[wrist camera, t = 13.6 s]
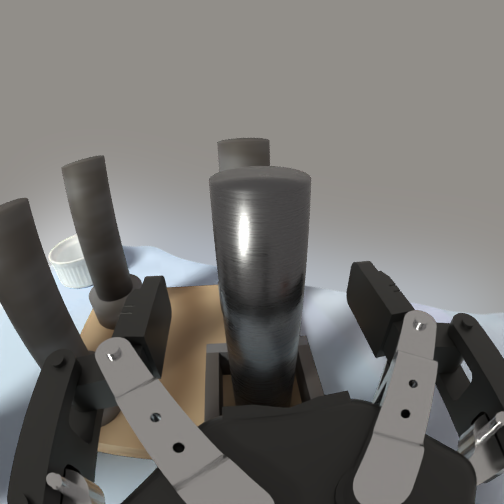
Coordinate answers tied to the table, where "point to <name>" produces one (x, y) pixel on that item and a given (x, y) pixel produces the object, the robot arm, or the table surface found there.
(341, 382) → the table surface
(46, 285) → the stool seat
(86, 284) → the ramekin
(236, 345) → the stool leg
